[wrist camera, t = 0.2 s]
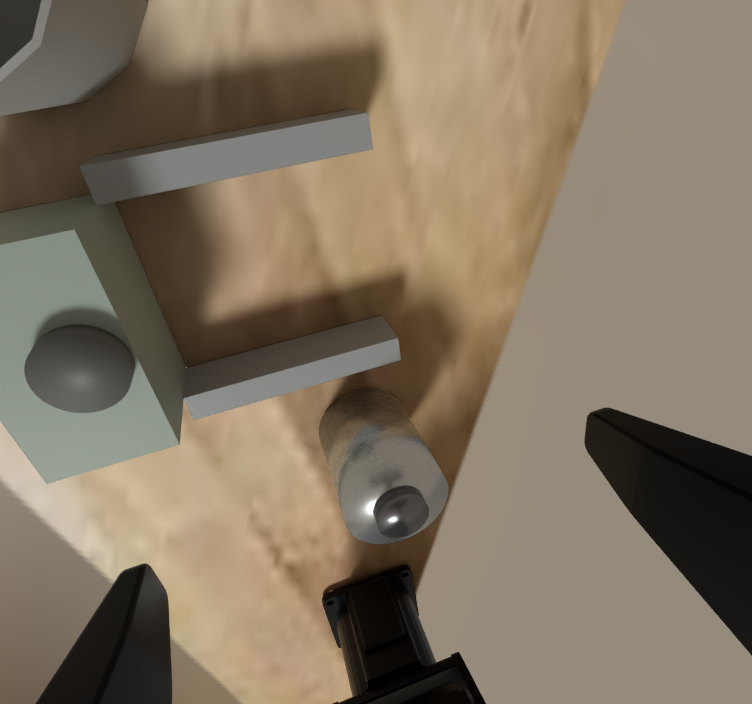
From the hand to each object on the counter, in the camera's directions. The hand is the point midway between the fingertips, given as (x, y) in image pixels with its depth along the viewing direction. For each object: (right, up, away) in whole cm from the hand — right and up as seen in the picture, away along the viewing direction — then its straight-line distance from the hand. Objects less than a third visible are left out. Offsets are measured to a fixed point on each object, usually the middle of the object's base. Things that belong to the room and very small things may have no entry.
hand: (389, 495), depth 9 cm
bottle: (-1, -1, +17) cm, 17 cm away
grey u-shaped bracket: (-7, +6, +11) cm, 14 cm away
